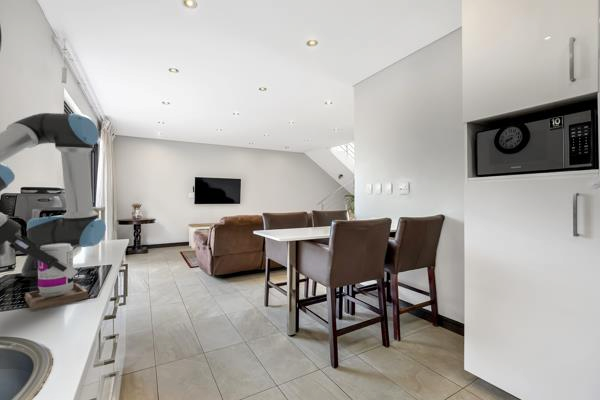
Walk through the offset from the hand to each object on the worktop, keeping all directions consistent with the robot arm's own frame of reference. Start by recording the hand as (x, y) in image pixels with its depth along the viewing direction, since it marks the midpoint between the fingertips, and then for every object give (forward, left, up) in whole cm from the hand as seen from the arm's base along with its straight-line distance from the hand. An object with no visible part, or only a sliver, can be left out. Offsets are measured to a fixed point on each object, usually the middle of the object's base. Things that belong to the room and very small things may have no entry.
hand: (70, 272), depth 88 cm
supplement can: (0, -3, -6) cm, 7 cm away
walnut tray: (0, -3, -8) cm, 8 cm away
